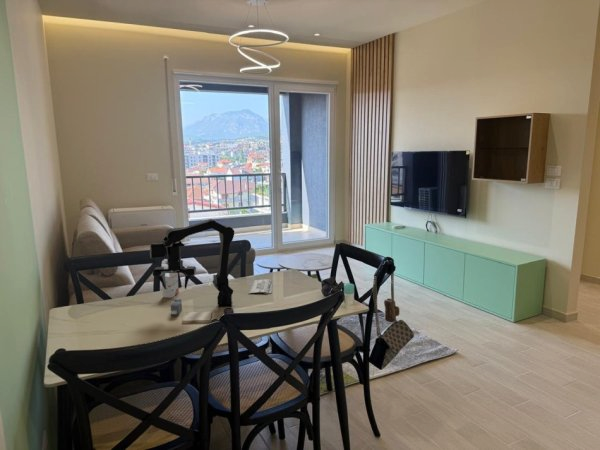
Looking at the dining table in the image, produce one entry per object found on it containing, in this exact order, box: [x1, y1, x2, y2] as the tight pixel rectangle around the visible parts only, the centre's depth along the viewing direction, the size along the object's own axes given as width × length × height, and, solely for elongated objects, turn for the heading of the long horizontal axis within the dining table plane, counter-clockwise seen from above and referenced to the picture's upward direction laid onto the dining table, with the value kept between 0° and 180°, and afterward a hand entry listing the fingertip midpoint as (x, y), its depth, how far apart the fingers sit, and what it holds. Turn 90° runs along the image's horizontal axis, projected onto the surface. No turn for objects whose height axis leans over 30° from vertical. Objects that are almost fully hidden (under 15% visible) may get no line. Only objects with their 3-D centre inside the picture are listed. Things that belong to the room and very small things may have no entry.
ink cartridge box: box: [161, 273, 179, 299], centre depth 219 cm, size 9×5×15 cm, turn 168°
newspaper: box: [248, 278, 273, 295], centre depth 234 cm, size 23×12×2 cm, turn 179°
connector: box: [170, 298, 183, 318], centre depth 195 cm, size 4×12×5 cm, turn 5°
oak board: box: [181, 311, 213, 324], centre depth 189 cm, size 12×10×1 cm
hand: (175, 288), depth 194 cm, fingers open, 9 cm apart
